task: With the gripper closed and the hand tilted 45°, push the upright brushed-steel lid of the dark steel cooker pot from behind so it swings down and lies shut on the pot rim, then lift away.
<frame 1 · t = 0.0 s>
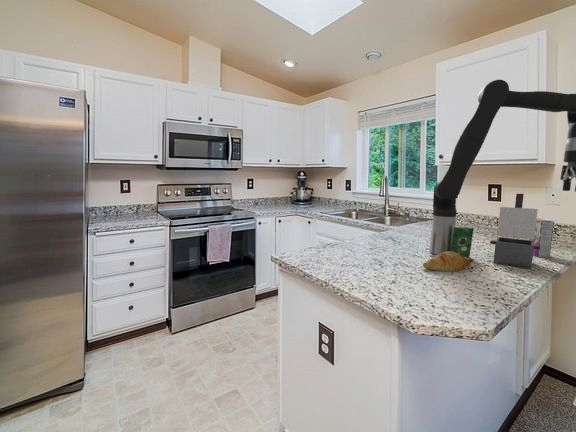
hand: (572, 191, 120), 29 cm above the worktop, tool pointing down, fingers open, 8 cm apart
lid: (517, 215, 126), point 19 cm above the worktop, hinge at 97.0°
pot: (512, 262, 123), on the worktop
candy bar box: (536, 254, 137), on the worktop
coffee box: (460, 257, 131), on the worktop
croissant: (446, 268, 115), on the worktop
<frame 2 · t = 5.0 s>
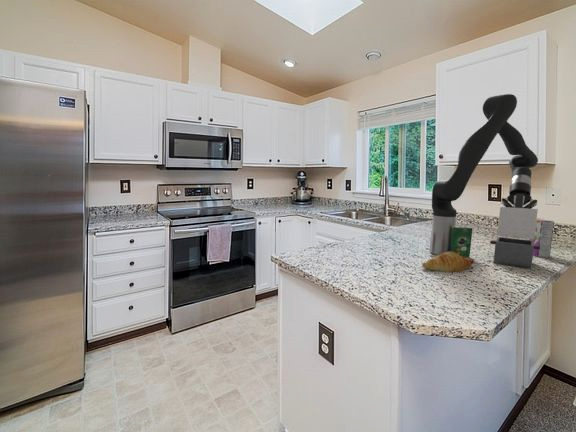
hand: (517, 217, 127), 18 cm above the worktop, tool tilted 45°, fingers closed
lid: (517, 215, 126), point 19 cm above the worktop, hinge at 95.5°, touching gripper
everything else where it was.
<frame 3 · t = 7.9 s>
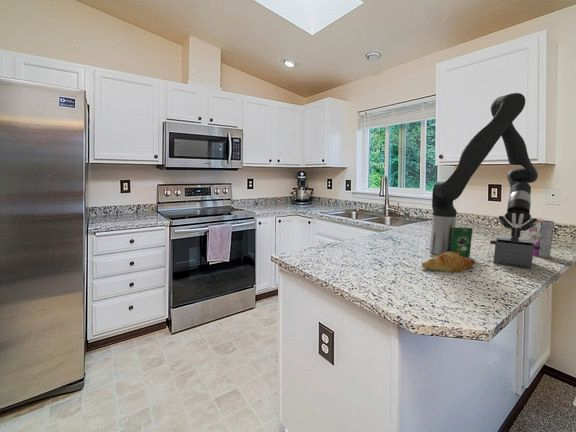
hand: (515, 237, 118), 11 cm above the worktop, tool tilted 45°, fingers closed
lid: (514, 238, 119), point 11 cm above the worktop, hinge at 3.9°, touching gripper
everything else where it was.
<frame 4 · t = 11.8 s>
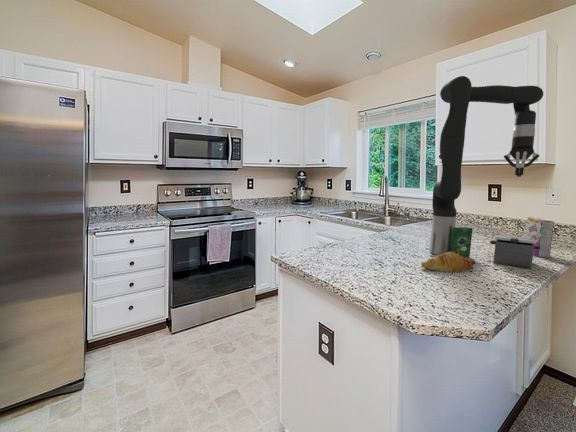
hand: (518, 176, 133), 35 cm above the worktop, tool pointing down, fingers closed
lid: (514, 238, 119), point 10 cm above the worktop, hinge at 3.6°
everything else where it was.
at the end: lid at +4° (first picture: +97°) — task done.
